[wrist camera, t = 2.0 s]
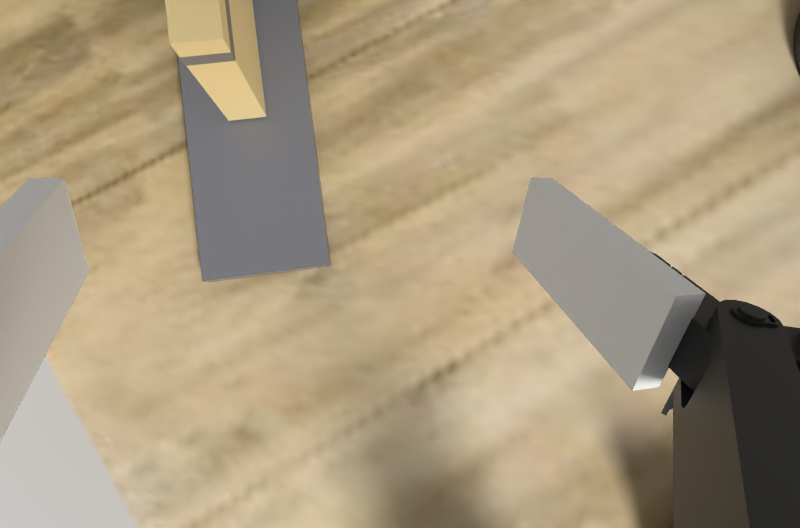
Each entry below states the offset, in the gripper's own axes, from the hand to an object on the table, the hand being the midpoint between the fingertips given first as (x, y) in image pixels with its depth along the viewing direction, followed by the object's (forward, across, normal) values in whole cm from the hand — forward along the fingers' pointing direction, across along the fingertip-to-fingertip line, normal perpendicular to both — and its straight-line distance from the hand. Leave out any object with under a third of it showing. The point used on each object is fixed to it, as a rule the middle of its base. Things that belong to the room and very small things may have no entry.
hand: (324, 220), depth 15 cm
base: (+33, -3, -2) cm, 33 cm away
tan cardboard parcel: (+31, -3, -1) cm, 32 cm away
